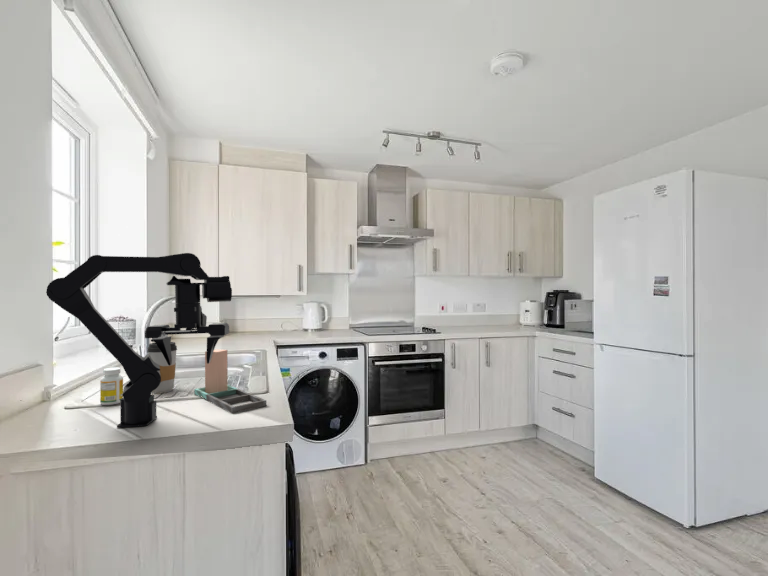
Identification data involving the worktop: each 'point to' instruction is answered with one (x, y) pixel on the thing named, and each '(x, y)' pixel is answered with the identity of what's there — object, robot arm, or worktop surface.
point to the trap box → (232, 399)
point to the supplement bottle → (111, 386)
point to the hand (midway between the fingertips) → (189, 364)
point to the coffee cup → (164, 367)
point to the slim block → (216, 372)
